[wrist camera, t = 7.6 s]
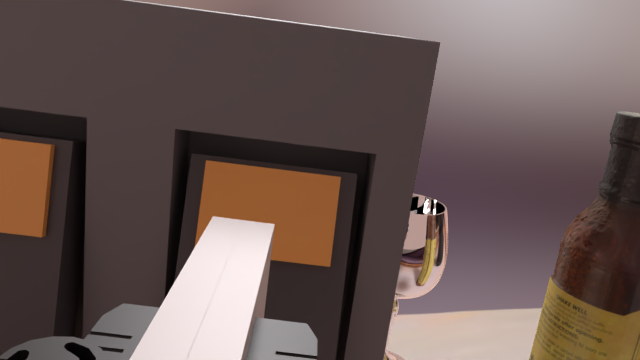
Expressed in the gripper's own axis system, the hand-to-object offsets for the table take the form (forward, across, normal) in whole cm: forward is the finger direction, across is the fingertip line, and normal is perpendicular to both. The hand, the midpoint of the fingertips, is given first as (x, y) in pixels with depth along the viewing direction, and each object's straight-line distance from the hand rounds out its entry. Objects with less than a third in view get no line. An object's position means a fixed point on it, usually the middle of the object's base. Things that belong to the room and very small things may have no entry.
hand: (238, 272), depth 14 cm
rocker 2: (+5, 0, -9) cm, 10 cm away
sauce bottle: (+15, +18, -16) cm, 28 cm away
